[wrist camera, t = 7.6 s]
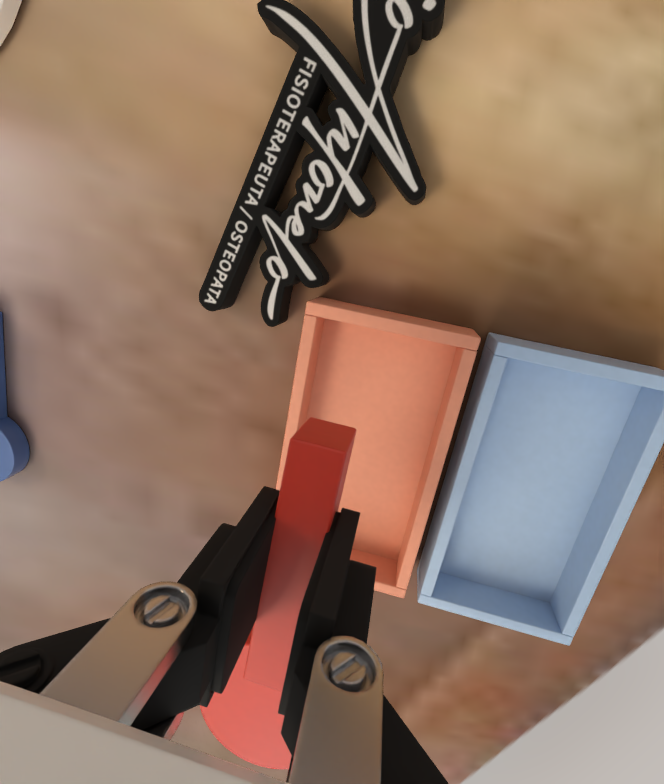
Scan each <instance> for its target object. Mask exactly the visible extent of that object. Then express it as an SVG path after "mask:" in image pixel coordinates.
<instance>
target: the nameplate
mask: <svg viewBox="0 0 664 784" xmlns="http://www.w3.org/2000/svg"><path fill="white" fill-rule="evenodd" d="M257 6H258V12H259V14H260V16H261V17H262V19H263V21H264V22H265V24H266V26H267V27H268V29H269V30H270V32H271V33H272V34H273V35H275V36H277V37H279V38H281V39H282V40H283V41H285V42H286V43H287V44H288V45H289V46H290V47H291V48H293V49H294V50H295V51H296V52H297V54H296V56H295V58H294V61H293V63H292V65H291V68H290V70H289V73H288V75H287V78H286V80H285V83H284V85H283V88H282V90H281V93H280V95H279V97H278V100H277V102H276V105H275V107H274V110H273V112H272V115H271V117H270V120H269V122H268V125H267V127H266V130H265V132H264V135H263V137H262V140H261V142H260V145H259V147H258V149H257V152H256V154H255V157H254V159H253V162H252V164H251V167H250V169H249V172H248V174H247V177H246V179H245V182H244V184H243V187H242V189H241V192H240V194H239V196H238V199H237V201H236V204H235V206H234V209H233V211H232V214H231V216H230V219H229V221H228V224H227V226H226V229H225V231H224V234H223V236H222V239H221V241H220V243H219V246H218V248H217V251H216V253H215V256H214V258H213V261H212V263H211V266H210V268H209V271H208V273H207V276H206V278H205V281H204V283H203V285H202V287H201V290H200V292H199V301H200V303H201V304H202V306H203V307H204V308H206V309H207V310H209V311H216V310H220V309H225V308H228V307H231V306H232V305H233V304H234V302H235V300H236V298H237V295H238V293H239V290H240V288H241V285H242V283H243V281H244V279H245V276H246V274H247V272H248V269H249V267H250V265H251V263H252V260H253V258H254V256H255V253H256V251H257V249H258V246H259V244H260V242H261V240H262V238H263V239H264V242H265V244H266V246H267V250H266V251H265V252H264V253H263V254H262V256H261V257H260V262H259V263H260V269H261V271H262V273H263V276H264V277H265V279H266V280H267V281H268V282H267V285H266V287H265V290H264V293H263V297H262V301H261V313H262V317H263V319H264V321H265V323H266V324H267V325H268V326H271V327H274V326H277V325H279V324H281V323H283V322H285V321H286V320H287V318H288V310H289V305H290V298H291V293H292V290H293V285H294V284H298V283H299V282H300V281H301V282H302V283H303V284H304V285H305V286H307V287H309V288H315V287H319V286H323V285H325V284H327V283H328V281H329V274H328V272H327V270H326V269H325V267H324V266H323V264H322V263H321V262H320V260H319V259H318V257H317V256H316V255H315V253H314V252H313V251H312V250H311V248H310V247H309V245H310V244H312V243H314V242H315V241H316V240H317V238H318V230H319V229H321V230H324V231H329V230H332V229H334V228H336V227H337V226H338V225H339V224H340V223H341V222H342V220H343V219H344V217H345V215H346V213H347V211H348V209H349V208H350V210H351V211H352V212H353V213H354V214H356V215H357V216H358V217H362V218H363V217H367V216H368V215H370V214H371V213H372V212H373V211H374V209H375V206H376V202H375V200H374V198H373V196H372V194H371V193H370V191H369V189H368V188H367V186H366V185H365V184H364V182H363V181H362V177H363V175H364V174H365V172H366V169H367V166H368V163H369V161H370V158H371V156H372V153H374V154H375V156H376V157H377V159H378V160H379V162H380V163H381V165H382V166H383V168H384V169H385V171H386V172H387V174H388V175H389V177H390V178H391V180H392V181H393V183H394V184H395V186H396V187H397V189H398V190H399V192H400V193H401V194H402V196H403V197H404V198H405V199H406V201H407V202H409V203H410V204H412V205H417V204H419V203H421V202H422V201H423V199H424V198H425V193H426V185H425V182H424V180H423V178H422V176H421V173H420V170H419V167H418V165H417V163H416V160H415V157H414V155H413V152H412V149H411V147H410V144H409V142H408V139H407V137H406V135H405V132H404V129H403V126H402V123H401V120H400V117H399V114H398V112H397V109H396V106H395V103H394V101H393V98H392V97H393V95H394V93H395V90H396V88H397V85H398V82H399V79H400V77H401V74H402V71H403V69H404V66H405V63H406V60H407V58H408V56H409V55H413V54H414V53H416V52H417V51H418V49H419V47H420V45H421V40H422V39H423V40H431V39H432V38H434V37H436V36H437V35H438V34H439V32H440V30H441V28H442V24H443V16H444V8H445V0H353V21H354V25H355V28H354V29H355V37H356V43H357V48H358V53H359V58H360V62H361V66H362V70H363V74H364V79H365V82H366V83H365V84H363V83H362V82H361V80H360V79H359V77H358V76H357V74H356V73H355V72H354V70H353V69H352V67H351V66H350V65H349V63H348V62H347V61H346V59H345V58H344V57H343V55H342V54H341V53H340V52H339V50H338V49H337V48H336V46H335V45H334V44H333V43H332V42H331V40H330V39H329V38H328V37H327V36H326V35H325V33H324V32H323V31H322V30H321V29H320V28H319V27H318V26H317V25H316V24H315V23H314V22H313V21H312V20H311V19H310V18H309V17H308V16H307V15H306V14H304V13H303V12H302V11H301V10H299V9H298V8H297V7H295V6H294V5H292V4H290V3H289V2H287V1H285V0H261V1H260V2H259V3H258V4H257ZM327 88H329V89H330V91H331V92H332V93H333V94H334V96H335V97H336V98H337V99H336V100H333V101H332V102H331V103H330V105H329V106H328V114H329V116H330V118H331V120H330V121H328V122H327V123H326V124H325V125H324V126H323V125H322V122H321V121H320V119H319V118H318V116H317V115H316V114H317V111H318V109H319V107H320V104H321V102H322V100H323V98H324V95H325V93H326V91H327ZM304 141H306V142H308V144H309V145H310V146H311V147H312V149H313V150H314V151H313V152H312V153H310V154H308V155H307V156H306V157H305V159H304V160H303V163H302V168H301V169H302V175H301V177H300V178H299V179H298V180H297V181H296V191H297V194H296V195H295V196H294V197H293V198H292V199H291V200H290V202H289V204H288V208H287V209H286V210H284V211H283V212H282V213H281V212H279V211H277V210H275V208H276V205H277V203H278V201H279V198H280V196H281V194H282V191H283V189H284V187H285V185H286V182H287V180H288V178H289V175H290V173H291V171H292V169H293V166H294V164H295V162H296V159H297V157H298V155H299V153H300V150H301V148H302V146H303V143H304Z"/></svg>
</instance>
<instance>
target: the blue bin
mask: <svg viewBox="0 0 664 784" xmlns="http://www.w3.org/2000/svg"><path fill="white" fill-rule="evenodd" d="M663 443H664V370H661V369H659V368H657V367H652V366H647V365H642V364H638V363H633V362H628V361H623V360H618V359H614V358H609V357H604V356H599V355H595V354H590V353H585V352H580V351H576V350H571V349H566V348H561V347H557V346H552V345H547V344H542V343H537V342H533V341H528V340H523V339H518V338H514V337H509V336H504V335H499V334H495V333H490V332H489V333H488V335H487V338H486V341H485V345H484V348H483V351H482V355H481V358H480V361H479V365H478V368H477V371H476V375H475V378H474V381H473V385H472V388H471V391H470V395H469V398H468V401H467V405H466V408H465V411H464V415H463V418H462V421H461V425H460V428H459V431H458V435H457V438H456V441H455V445H454V448H453V451H452V455H451V458H450V461H449V465H448V468H447V471H446V475H445V478H444V481H443V485H442V488H441V491H440V495H439V498H438V501H437V505H436V508H435V511H434V515H433V518H432V521H431V525H430V528H429V531H428V535H427V538H426V541H425V545H424V548H423V551H422V555H421V558H420V561H419V565H418V568H417V593H418V603H421V604H425V605H428V606H432V607H435V608H439V609H442V610H446V611H449V612H453V613H456V614H460V615H463V616H467V617H470V618H474V619H477V620H481V621H484V622H488V623H491V624H495V625H498V626H502V627H505V628H509V629H512V630H516V631H520V632H523V633H527V634H530V635H534V636H537V637H541V638H544V639H548V640H551V641H555V642H558V643H562V644H565V645H570V643H571V641H572V639H573V636H574V635H575V633H576V631H577V629H578V626H579V624H580V622H581V620H582V618H583V616H584V613H585V611H586V609H587V607H588V605H589V603H590V600H591V598H592V596H593V594H594V592H595V590H596V587H597V585H598V583H599V581H600V579H601V577H602V575H603V572H604V570H605V568H606V566H607V564H608V562H609V559H610V557H611V555H612V553H613V551H614V549H615V546H616V544H617V542H618V540H619V538H620V536H621V534H622V531H623V529H624V527H625V525H626V523H627V521H628V518H629V516H630V514H631V512H632V510H633V508H634V505H635V503H636V501H637V499H638V497H639V495H640V493H641V490H642V488H643V486H644V484H645V482H646V480H647V477H648V475H649V473H650V471H651V469H652V467H653V464H654V462H655V460H656V458H657V456H658V454H659V451H660V449H661V447H662V445H663Z"/></svg>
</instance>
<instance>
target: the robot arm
mask: <svg viewBox="0 0 664 784" xmlns="http://www.w3.org/2000/svg"><path fill="white" fill-rule="evenodd" d="M21 2H22V0H0V46H1V45H2V43H3V41H4V40H5V38H6V36H7V35H8V33H9V31H10V30H11V28H12V26H13V24H14V21H15V18H16V16H17V13H18V10H19V7H20V5H21ZM279 492H280V490H277V489H273V488H269V487H266V486H264V487H263V488H262V490H261V491H260V493H259V494H258V496H257V497H256V499H255V500H254V501H253V503H252V504H251V506H250V507H249V509H248V510H247V511H246V513H245V514H244V516H243V517H242V519H241V520H240V522H239V523H238V524H237V526H232V525H229V524H225V523H224V524H222V525H221V526H220V527H219V528H218V529H217V531H216V532H215V533H214V534H213V536H212V537H211V538H210V540H209V541H208V542H207V544H206V545H205V546H204V548H203V549H202V550H201V552H200V553H199V554H198V556H197V557H196V558H195V560H194V561H193V562H192V563H191V565H190V566H189V567H188V569H187V570H186V571H185V573H184V574H183V575H182V577H181V578H180V579H179V581H178V582H177V583H176V582H158V583H153V584H150V585H148V586H145V587H143V588H141V589H140V590H139V591H137V592H136V593H135V594H134V595H132V597H131V598H130V599H129V600H128V601H127V602H126V603H125V604H124V605H123V606H122V607H121V608H120V609H119V610H118V611H117V612H116V613H115V614H114V616H113V617H112V618H109V619H106V620H102V621H99V622H95V623H92V624H89V625H85V626H82V627H79V628H75V629H72V630H68V631H65V632H62V633H58V634H55V635H51V636H48V637H45V638H41V639H38V640H35V641H31V642H28V643H24V644H21V645H18V646H15V647H13V648H10V649H7V650H5V651H3V652H1V653H0V784H448V782H447V781H446V779H445V778H444V777H443V775H442V774H441V773H440V771H439V770H438V769H437V767H436V766H435V764H434V763H433V762H432V760H431V759H430V758H429V756H428V755H427V753H426V752H425V751H424V749H423V748H422V747H421V745H420V744H419V743H418V741H417V740H416V738H415V737H414V736H413V734H412V733H411V732H410V730H409V729H408V727H407V726H406V725H405V723H404V722H403V721H402V719H401V718H400V717H399V715H398V714H397V712H396V711H395V710H394V708H393V707H392V706H391V704H390V703H389V701H388V700H387V699H386V697H385V696H384V695H383V680H384V674H383V667H382V663H381V661H380V659H379V657H378V655H377V654H376V653H375V651H374V650H373V649H372V648H371V647H370V646H369V645H367V637H368V629H369V622H370V614H371V607H372V600H373V592H374V585H375V577H376V569H377V568H376V567H374V566H371V565H367V564H364V563H361V562H357V561H354V560H350V556H351V552H352V547H353V543H354V539H355V534H356V530H357V526H358V521H359V517H360V512H357V511H353V510H350V509H346V508H342V509H341V512H337V511H336V513H335V516H334V519H333V522H332V525H331V528H330V531H329V532H328V533H326V534H325V537H324V540H323V543H322V546H321V548H320V551H319V554H318V557H317V560H316V563H315V566H314V569H313V572H312V575H311V578H310V580H309V583H308V586H307V589H306V592H305V595H304V598H303V601H302V604H301V608H300V611H299V615H298V619H297V624H296V628H295V633H294V638H293V643H292V647H291V652H290V657H289V661H288V666H287V671H286V676H285V680H284V685H283V690H282V694H281V699H280V704H279V709H278V713H279V714H281V715H284V720H283V725H282V729H281V735H282V737H283V739H284V741H285V743H286V745H287V747H288V749H289V751H290V753H291V760H290V764H289V769H288V774H287V778H286V782H284V781H281V780H278V779H275V778H273V777H270V776H267V775H264V774H262V773H259V772H256V771H253V770H251V769H248V768H245V767H242V766H240V765H237V764H234V763H231V762H228V761H226V760H223V759H220V758H217V757H215V756H212V755H209V754H206V753H203V752H201V751H198V750H195V749H192V748H189V747H187V746H184V745H181V744H178V743H175V742H173V741H170V740H171V738H172V737H173V735H174V733H175V731H176V730H177V728H178V726H179V724H180V722H181V720H182V717H183V714H184V711H186V710H188V709H191V708H193V707H195V706H197V705H201V706H204V707H208V705H209V703H210V700H211V698H212V696H213V694H214V692H216V693H219V694H222V693H223V691H224V689H225V687H226V685H227V682H228V680H229V678H230V676H231V674H232V671H233V669H234V667H235V665H236V663H237V660H238V658H239V656H240V654H241V652H242V650H243V647H244V645H245V643H246V641H247V639H248V636H249V634H250V632H251V630H252V628H253V625H254V623H255V621H256V617H257V612H258V607H259V602H260V597H261V592H262V587H263V582H264V577H265V572H266V567H267V562H268V557H269V552H270V547H271V542H272V536H273V531H274V526H275V521H276V518H275V512H276V507H277V502H278V497H279Z"/></svg>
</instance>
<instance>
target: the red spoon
mask: <svg viewBox="0 0 664 784" xmlns="http://www.w3.org/2000/svg"><path fill="white" fill-rule="evenodd" d="M355 435H356V429H355V428H353V427H349V426H345V425H341V424H337V423H333V422H329V421H325V420H321V419H317V418H313V417H309V419H308V420H307V421H306V422H305V423H304V424H303V425H302V426H301V427H300V429H299V430H298V431H297V432H296V433H295V434H294V435H293V436H292V437H291V439H290V441H289V446H288V451H287V456H286V461H285V466H284V471H283V476H282V482H281V487H280V492H279V497H278V502H277V507H276V512H275V518H276V521H275V526H274V531H273V536H272V542H271V547H270V552H269V557H268V562H267V567H266V572H265V577H264V582H263V587H262V592H261V597H260V602H259V607H258V612H257V617H256V621H255V623H254V625H253V628H252V630H251V632H250V634H249V636H248V639H247V641H246V643H245V645H244V647H243V650H242V652H241V654H240V656H239V658H238V660H237V663H236V665H235V667H234V669H233V671H232V674H231V676H230V678H229V680H228V682H227V685H226V687H225V689H224V691H223V693H222V694H219V693H216V692H214V694H213V696H212V698H211V700H210V703H209V705H208V707H204V706H201V705H200V708H201V712H202V715H203V717H204V720H205V722H206V724H207V726H208V727H209V729H210V730H211V732H212V733H213V735H214V736H215V737H216V738H217V740H218V741H219V742H220V743H221V744H222V745H223V746H225V747H226V748H227V749H228V750H229V751H231V752H232V753H234V754H235V755H237V756H238V757H240V758H242V759H244V760H245V761H248V762H250V763H252V764H255V765H258V766H262V767H266V768H271V769H289V764H290V760H291V753H290V751H289V749H288V747H287V745H286V743H285V741H284V739H283V737H282V735H281V729H282V725H283V720H284V715H281V714H279V713H278V709H279V704H280V699H281V694H282V690H283V685H284V680H285V676H286V671H287V666H288V661H289V657H290V652H291V647H292V643H293V638H294V633H295V628H296V624H297V619H298V615H299V611H300V608H301V604H302V601H303V598H304V595H305V592H306V589H307V586H308V583H309V580H310V578H311V575H312V572H313V569H314V566H315V563H316V560H317V557H318V554H319V551H320V548H321V546H322V543H323V540H324V537H325V534H326V533H328V532H329V531H330V528H331V525H332V522H333V519H334V516H335V513H336V511H337V512H338V509H339V505H340V501H341V496H342V492H343V488H344V483H345V479H346V474H347V470H348V466H349V461H350V457H351V453H352V448H353V444H354V440H355Z"/></svg>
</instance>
